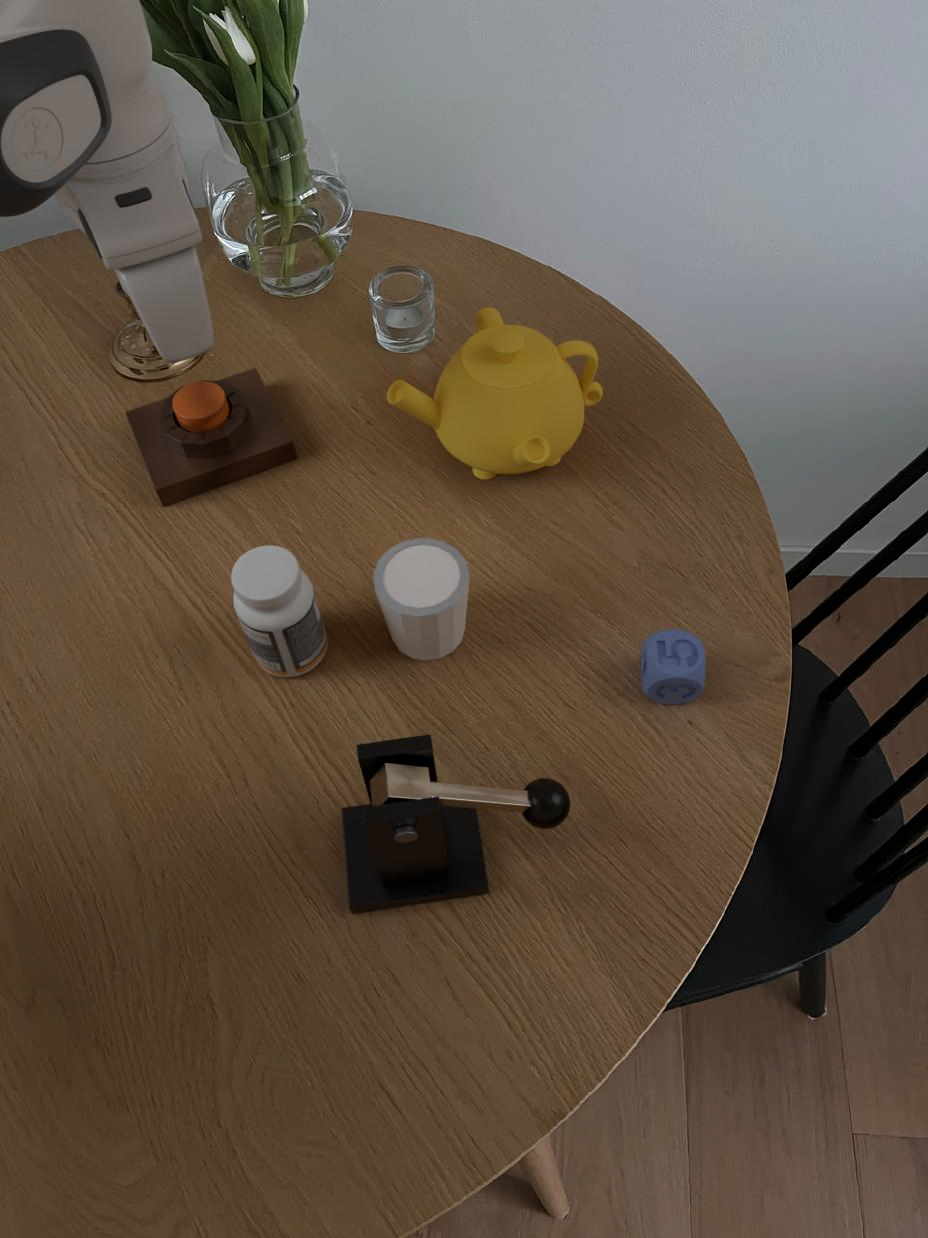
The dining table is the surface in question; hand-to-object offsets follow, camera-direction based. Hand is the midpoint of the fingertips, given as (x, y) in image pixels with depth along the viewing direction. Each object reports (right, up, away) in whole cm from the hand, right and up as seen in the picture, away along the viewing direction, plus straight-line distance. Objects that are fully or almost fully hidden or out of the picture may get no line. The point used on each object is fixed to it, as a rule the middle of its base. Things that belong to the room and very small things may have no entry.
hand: (171, 329), depth 82 cm
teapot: (+26, -8, +9) cm, 28 cm away
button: (+1, -5, +8) cm, 9 cm away
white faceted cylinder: (+20, -23, -1) cm, 30 cm away
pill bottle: (+9, -25, -1) cm, 26 cm away
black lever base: (+19, -38, -11) cm, 44 cm away
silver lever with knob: (+23, -34, -16) cm, 44 cm away
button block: (+1, -7, +11) cm, 13 cm away
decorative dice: (+37, -27, -4) cm, 46 cm away
